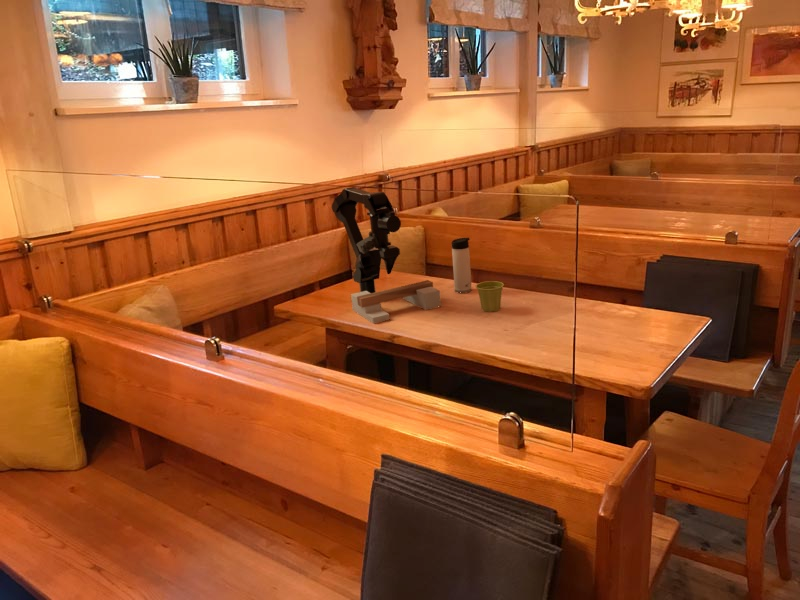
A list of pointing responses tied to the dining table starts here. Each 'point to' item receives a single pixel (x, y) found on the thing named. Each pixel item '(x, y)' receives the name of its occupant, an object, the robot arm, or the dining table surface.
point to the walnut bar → (392, 293)
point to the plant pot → (490, 295)
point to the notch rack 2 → (425, 298)
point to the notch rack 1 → (369, 309)
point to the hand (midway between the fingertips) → (383, 271)
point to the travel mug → (461, 265)
